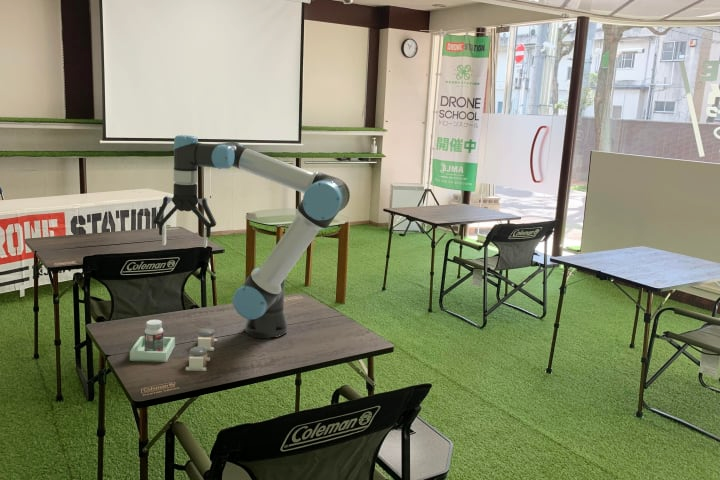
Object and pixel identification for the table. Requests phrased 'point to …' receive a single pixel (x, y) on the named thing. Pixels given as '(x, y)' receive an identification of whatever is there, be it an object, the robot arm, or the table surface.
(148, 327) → the pill bottle
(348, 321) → the table surface
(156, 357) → the tray
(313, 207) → the robot arm
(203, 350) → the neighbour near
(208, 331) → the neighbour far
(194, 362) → the cream flat pieces
